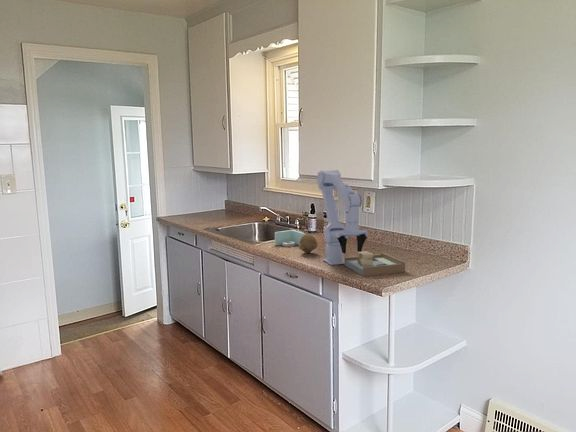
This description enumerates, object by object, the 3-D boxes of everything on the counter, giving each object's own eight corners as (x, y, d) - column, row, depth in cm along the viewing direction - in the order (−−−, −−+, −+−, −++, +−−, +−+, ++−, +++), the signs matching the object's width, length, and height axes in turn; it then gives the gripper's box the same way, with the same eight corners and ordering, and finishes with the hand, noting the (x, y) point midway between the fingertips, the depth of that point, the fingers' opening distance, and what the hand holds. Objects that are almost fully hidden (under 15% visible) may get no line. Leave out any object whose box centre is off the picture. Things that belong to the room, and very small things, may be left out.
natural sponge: (320, 252, 241) (320, 233, 239) (311, 256, 234) (311, 236, 232) (305, 250, 246) (305, 231, 244) (296, 253, 239) (296, 234, 237)
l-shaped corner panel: (274, 245, 259) (274, 232, 257) (292, 242, 265) (292, 229, 264) (286, 249, 249) (286, 235, 247) (305, 246, 255) (305, 233, 254)
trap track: (344, 265, 216) (344, 255, 216) (382, 261, 223) (382, 252, 222) (363, 276, 199) (364, 265, 198) (404, 271, 205) (405, 261, 204)
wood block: (357, 263, 210) (357, 252, 210) (367, 262, 212) (367, 251, 211) (362, 265, 206) (362, 254, 205) (372, 264, 207) (373, 253, 207)
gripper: (341, 224, 197) (340, 255, 199) (371, 221, 202) (370, 252, 204) (333, 221, 203) (333, 252, 205) (363, 219, 208) (362, 249, 210)
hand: (351, 252), depth 205 cm, fingers open, 7 cm apart
